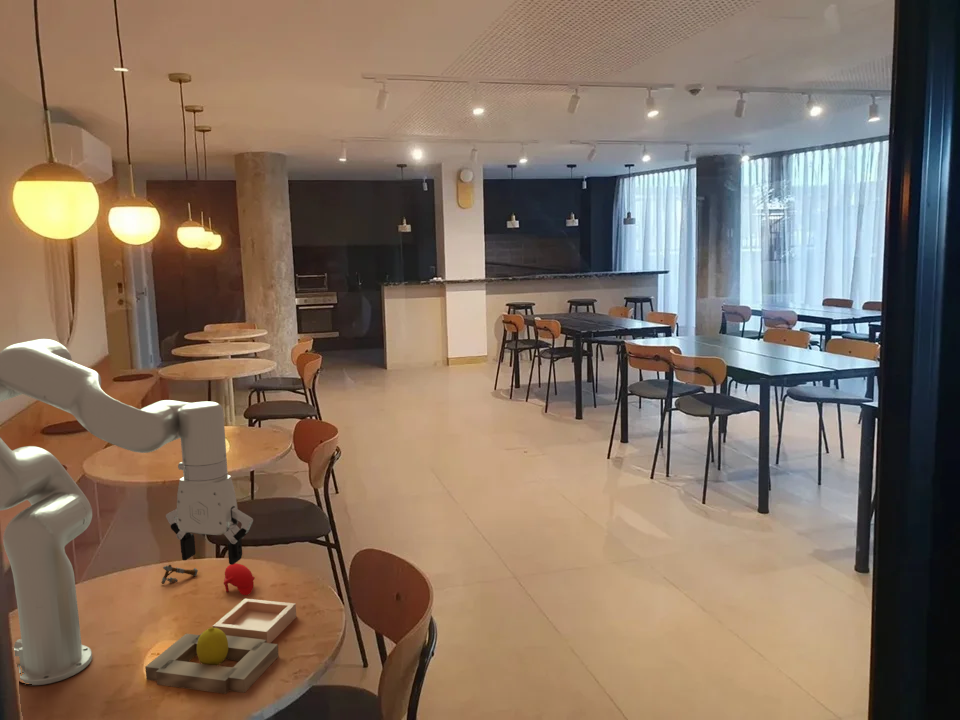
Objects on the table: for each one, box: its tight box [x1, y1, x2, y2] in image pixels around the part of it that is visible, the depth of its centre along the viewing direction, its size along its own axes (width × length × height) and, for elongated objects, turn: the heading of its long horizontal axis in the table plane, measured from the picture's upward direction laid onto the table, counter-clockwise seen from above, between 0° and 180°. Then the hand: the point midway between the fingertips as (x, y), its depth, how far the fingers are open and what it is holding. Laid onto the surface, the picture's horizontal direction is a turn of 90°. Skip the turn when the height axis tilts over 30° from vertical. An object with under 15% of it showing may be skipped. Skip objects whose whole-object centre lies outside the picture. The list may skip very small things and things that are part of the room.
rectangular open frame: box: [144, 632, 279, 695], centre depth 137 cm, size 20×14×2 cm
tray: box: [212, 598, 297, 643], centre depth 152 cm, size 12×12×3 cm
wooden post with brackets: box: [160, 564, 199, 585], centre depth 175 cm, size 2×8×4 cm, turn 130°
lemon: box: [197, 626, 228, 666], centre depth 137 cm, size 6×6×8 cm
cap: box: [223, 562, 256, 596], centre depth 169 cm, size 8×6×6 cm
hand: (212, 559), depth 136 cm, fingers open, 9 cm apart
